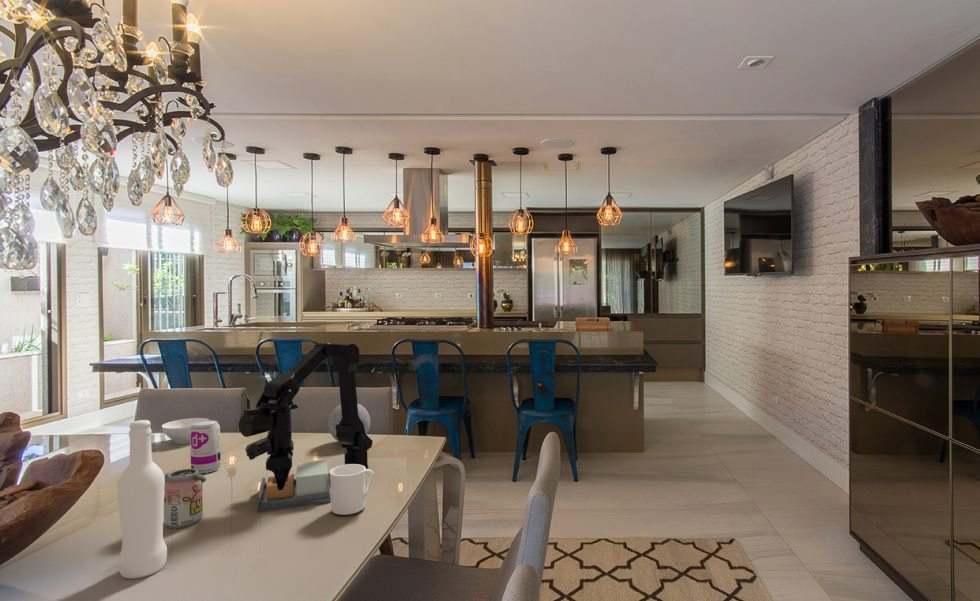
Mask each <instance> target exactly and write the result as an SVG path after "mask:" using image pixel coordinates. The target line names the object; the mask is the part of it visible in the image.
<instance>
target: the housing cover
mask: <svg viewBox="0 0 980 601" xmlns="http://www.w3.org/2000/svg"><path fill="white" fill-rule="evenodd" d="M328 478H329V468H328V460H327V459H326V460H325V459H323V460H319V461H316V460H315V461H308V462H299V463H298V462H297V463H296V476H295V479H296V490H297V496H303V495H310V494H318V493H325V492H328Z"/></svg>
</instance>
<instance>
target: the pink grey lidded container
mask: <svg viewBox="0 0 980 601" xmlns="http://www.w3.org/2000/svg"><path fill="white" fill-rule="evenodd" d="M164 478H165V480H166V482H165V488H164V510H163V524H164V525H165V526H166V527H167V528H170V529H182V528H186V527H187V528H188V527H190V526H193V525H195V524H197V523H198V522H200V520H202V518H203V515H204V505H203V504H204V502H203V498H204V497H203V496H204V494H203V483H205V482H206V481H207V479H206V478H207V477H206V476H205V475H204V476H203V474H200V473H199V471H198V470H197V469H191V468H184V469H183V468H182V469H178V470H173V471H171V472H166V473H165V474H164Z"/></svg>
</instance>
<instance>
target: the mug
mask: <svg viewBox="0 0 980 601" xmlns="http://www.w3.org/2000/svg"><path fill="white" fill-rule="evenodd" d="M367 472H368V473H370V477H369V480H368V484H367V486H366V473H367ZM328 474H329V483H330V495H331V502H330V503H331V512H332V514H333V515H334V516H336V517H341V518H342V517H344V518H345V517H353V516H356V515H359V514H361V513H362V512H364V510H365V507H366V506H365V505H366V504H365V503H366V499H365V498H366V497H367V496H368V495H369V493H370V489H371V487H372V484H373V480H374V477H375V473H374V471H373V470H372V469H369V468H368V469H366V468H365V466H363V465H358V464H347V465H345V464H341V465H337V466H335V467H332V468H331V469H329V471H328Z"/></svg>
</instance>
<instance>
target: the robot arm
mask: <svg viewBox="0 0 980 601" xmlns="http://www.w3.org/2000/svg"><path fill="white" fill-rule="evenodd" d="M327 358H331V364H332V365H333V367H334V368H335V370H336V371H337V373H338V374H337V375H338V386H339V396H340V399H339V400H340V405H341V411H342V419H341V421H340V423H339V424H336V437H338V441H337V442H339V443H340V446H341V448H343V449H345V451H346V452H344V456H343V457H344V459H343V461H344V465H347V464H358V465H363V466H365V468H366V469H369V465H368V464H369V463H368V451H369V450H370V449H371V448H372V447H373V441H374V440H372V439H371V437H370V436H368V435H367V434H366V432H365V427H364V424H363V422H362V421H361V419H360V418H359V416H358V405H357V403H358V395H357V385H356V384H357V383H356V370H357V368H358V365H359V363H360V348H359V346H358V345H356V344H354V343H349V342H348V343H344V342H337V343H330V342H317V343H316V344H314V346H313V348H312V349H311V350H310V351H308V353H306V354H305V355H304V356H303V357H302V358H301V359H300V360H298V361H297V363H296V364H295V365H294V366H292V367H291V368H290V370H288V371H286V372H285V373H283V374H281V375H278V376H276V377H274V378H273V379H271V380H270V381H269V382H267V383H266V384H265V386H264V388H263V389H264V391H263V392H262V394H261V395H260V397H259V398H258V401H257V402H256V404H255V407H254V408H247V409H243V414H242V415H241V416H240V419H239V421H238V429H239V432H240V434H241V435H242V436H243V437H245V438H248V437H252V436H257V435H260V434H263V433H267V435H266V437H262V438H260V439H258V440H256V441H253V442H251V443H249V444H247V445H246V446H245V449H244V450H245V453H246V456H247V457H248V459H249V460H250V461H252V460H254V459H256V458H257V457H260V456H261V455H263V454H266V455H269V456H268V457H267V458H266V460H265V470H266V471H269V472H272V473H273V477H274V476H275V479H276V483H277V486H278V490H283V488H284V485H285V483H286V480H287V477H288V475H290V472H291V469H292V468H293V456H294V447H295V446H294V444H295V443H294V441H293V439H292V438H293V437H292V436H293V435H292V433H293V431H292V430H293V429H292V410H296V409H298V408H299V407H298V405H297V404H296V403H294V402H293V400H294V398H295V397H296V395H298V393H299V392H300V388H301V385H302V384H303V382H304V381H305V380H306V379H307V378H308V377H309V376H310V375H312V373H313V372H315V370H316V369H317V368H319V366H320V365H322V363H324V362H325V361H326V359H327Z"/></svg>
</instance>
